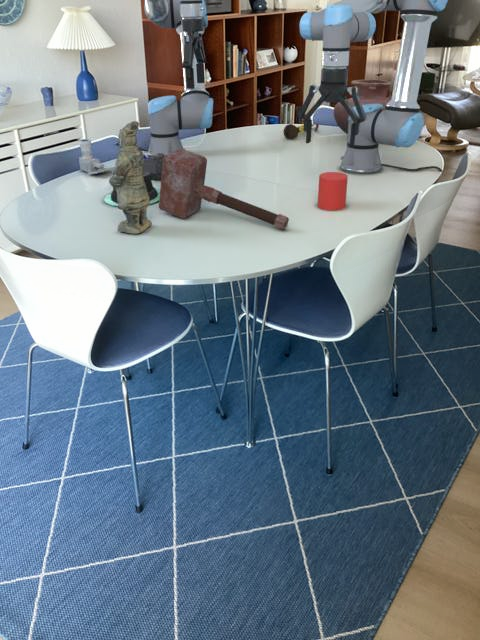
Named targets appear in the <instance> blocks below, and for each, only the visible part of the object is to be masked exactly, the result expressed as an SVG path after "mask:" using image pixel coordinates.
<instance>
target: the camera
mask: <svg viewBox="0 0 480 640" xmlns="http://www.w3.org/2000/svg"><path fill="white" fill-rule="evenodd" d="M78 142H79V143H78V144H79V147H80V150H81V156H79V157H78V164H79V169H80V171H82V172H84V173H87V175H88V176H89V175H96V174H100V173H104V172H107V171H112V170H115V166H111V167H106V168H105V165H104V163H101V159H100V158H97V157H94V156H93V151H92V139H90V138H81V139H78Z"/></svg>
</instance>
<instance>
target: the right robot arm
mask: <svg viewBox="0 0 480 640" xmlns="http://www.w3.org/2000/svg"><path fill="white" fill-rule="evenodd" d="M448 1H449V0H340V1H337V2H335V3H333V4H329V5H326V7H325V8H323V9H321V10H319V11H308V12H305V13H304V14H303V15H302V16H301V18H300V20H299V33H300V37H302V39H303V40H307V41H312V42H314V41H316V42H317V41H322V51H321V66H322V68H321V69H320V85H316V84H314V83H313V84H311V85H310V86H309V87H308V88H309V89H308V94H307V96H306V98H305V100H304V102H303V104H302V106H301V108H300V109H299V112H298V114H297V118H299V119H302V120H303V125H304V128H303V130H304V131H306V132H305V144H310V143H311V142H312V128H313V127H312V123H313V120H312V119H311V117H312V116H313V115H314V113H316V112H317V110H318V109H319V108H320V106H322V104H323V103H324V102H326V103H329V104H330V103H333V104H337V103H338V102H340V103H341V105H343V107H344V108H345V110H346V111H347V113H348V114H349V119H348V121H349V123H348V134H347V138H346V139H347V140H346V149H345V151H344V154H343V156H341V157H340V161H341V162H340V170H341V171H343V172H344V173H349V174H355V175H356V174H357V175H369V174H370V175H371V174H376V173H378V172H380V171H382V167H385V168H391V169H396V170H402V171H408V172H416V171H420V170H421V171H422V170H429V169H436V170H437V171H439V172H443V170H442V168H441V167H439V166H435V165H430V166H420V167H417V168H409V167H408V168H407V167H402V166H397V165H391V164H386V163H382V161H381V155H380V150H379V147H380V145H386V146H391V147H396V148H410V147H412V146H413V145H415V143H416V142H417V141H418V139H419V138H420V136H421V135H422V131H423V129H424V124H425V120H424V119H425V118H424V115H423V114H422V113H421V112H420V110H421V106H420V104H418V101H417V100H418V96H419V90H420V85H421V79H422V76H423V75H422V74H423V69H424V63H425V59H426V54H427V49H428V48H427V47H428V43H429V39H430V31H431V27H432V23H433V22H434V21H436V20H437V19H438V16H439V12H441V11H443V10H444V9H446V7H447V6H446V5H447V4H448ZM384 11H385V12H386V11H398V12H400V18H401V20H403V26H402V32H401V38H400V46H399V50H398V55H397V56H398V57H397V63H396V68H395V69H396V70H395V73H394V74H395V75H394V80H393V85H392V91H391V92H392V93H391V97H390V98H391V100H390V101H389V102H388V103H387V104H386V107H385V110H384V109H383V105H382V104H366V105H362V104H361V101H360V98H359V96H358V87H357V86H355V87H354V86H351V87H350V86H349V87H348V75H349V69H348V66H349V65H350V64H349V63H350V47H351V43H357V42H358V43H359V42H360V43H362V42H365V41H368V40H370V38H373V35H374V34H375V32H376V28H377V22H376V18H375V17H374V15H373V14H378V13H379V14H380V13H381V12H384ZM318 92H319V94H320V95H321V96H320V97H319V98H318V99H317V100H316V102H315V103H314V104H313V106H312V107H311V108H310V109H309V106H310V104H311V103H312V100H313V98H314V97H315V94H317V93H318ZM347 93H349V95H350V96H351V98H352V99H353V101H354V104H355V107H353V108H352V107H351V105H350V104H349V102H348V100H347V99H348V98H347V97H346V95H347ZM308 109H309V110H308ZM307 110H308V111H307ZM306 112H307V113H306ZM379 144H380V145H379Z"/></svg>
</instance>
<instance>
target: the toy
mask: <svg viewBox="0 0 480 640" xmlns="http://www.w3.org/2000/svg"><path fill="white" fill-rule="evenodd" d="M142 153H143V156H144V166H143V169H144V170H146V171H147V172H149V173H150V175H151V180H157V181H161V175H162V166H163V158H164V156H165V155H164V154H163V153H158V154H157V155H156V156H155V155H148V154H147V156H146V154H145V153H144V152H143V151H142Z"/></svg>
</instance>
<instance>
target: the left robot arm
mask: <svg viewBox="0 0 480 640" xmlns="http://www.w3.org/2000/svg"><path fill="white" fill-rule="evenodd" d="M143 8H144V9H143V10H144V14H145V16H146V17H147V19H148V20H149V21H150V22H152V24H154V25H156V26H159V27H161V28H164V29H176V33H177V34H178V36H180V46H181V59H182V65H181V66H182V73H183V74H182V75H183V88H184V91H183V92H182V94H181V95H180V96H181V99H177V96H176V95H163V96H159V97H155V98H153V99H151V100H149V102H148V103H147V111H148V112H147V114H148V121H149V131H150V141H149V145H148V148H143V147H141V146H140V147H139V146H137V147H138V149H139V150H141V151H142V152H143V151H144V152H147V156H148V155H155V156H156V155H157V154H158V153H163V154H164V155H167V154H170V153H172V152H174V151H177V150H179V149H184V150H186V148H185V147H184V146H183V144H182V141H181V138H180V135H179V133H180V132H179V131H181V130H182V131H183V130H204V129H210V128H211V127H212V125H213V113H214V98H212V97H210V93H209V92H208V91H207V90H206V80H205V78H206V77H205V64H206V63H207V59H206V53H205V48H204V43H203V42H204V41H203V34H204V33H205V30H206V28H207V27H208V25H209V21H208V14H207V6H206V2H205V0H144V6H143Z"/></svg>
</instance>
